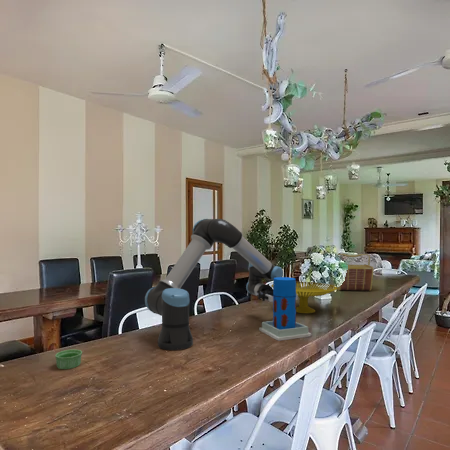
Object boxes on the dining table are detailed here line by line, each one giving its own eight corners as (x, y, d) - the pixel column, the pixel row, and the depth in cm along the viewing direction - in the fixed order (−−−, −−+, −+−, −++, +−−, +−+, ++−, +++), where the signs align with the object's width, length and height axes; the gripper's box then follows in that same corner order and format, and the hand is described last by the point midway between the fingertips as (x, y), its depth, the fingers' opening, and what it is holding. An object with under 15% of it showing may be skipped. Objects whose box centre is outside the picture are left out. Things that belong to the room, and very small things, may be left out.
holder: (278, 340, 159) (278, 331, 159) (259, 330, 176) (259, 321, 176) (311, 336, 166) (311, 327, 166) (290, 326, 182) (290, 318, 183)
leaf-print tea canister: (295, 334, 164) (295, 280, 165) (272, 333, 167) (272, 279, 167) (295, 328, 175) (295, 277, 175) (273, 326, 177) (274, 276, 178)
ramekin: (86, 365, 129) (86, 353, 130) (60, 372, 123) (60, 359, 123) (76, 359, 136) (76, 347, 136) (51, 365, 130) (51, 353, 130)
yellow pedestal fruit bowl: (322, 322, 191) (322, 294, 191) (258, 311, 215) (258, 287, 215) (347, 309, 223) (347, 285, 223) (289, 301, 247) (289, 279, 248)
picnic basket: (365, 287, 309) (365, 253, 309) (375, 292, 283) (375, 255, 284) (331, 286, 312) (331, 252, 312) (337, 291, 286) (337, 254, 286)
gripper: (283, 296, 196) (306, 304, 176) (242, 299, 186) (261, 308, 166) (283, 282, 196) (306, 288, 176) (242, 285, 186) (262, 292, 167)
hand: (284, 298), depth 171 cm, fingers open, 13 cm apart
